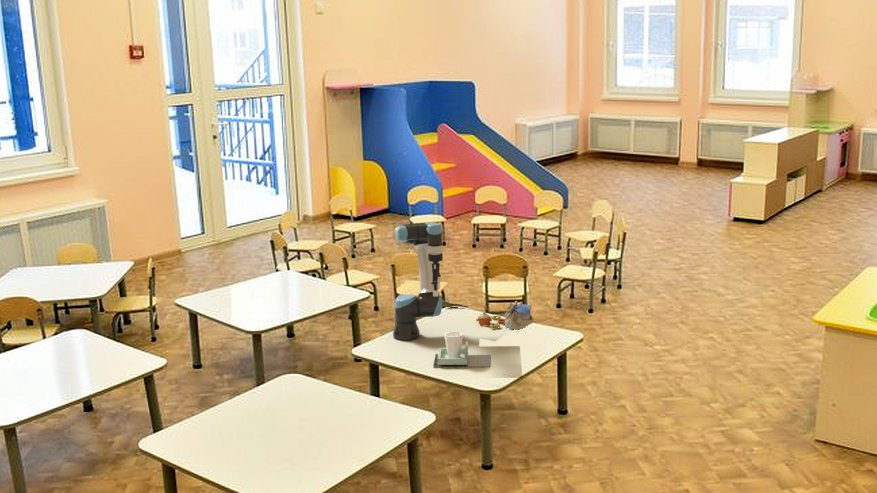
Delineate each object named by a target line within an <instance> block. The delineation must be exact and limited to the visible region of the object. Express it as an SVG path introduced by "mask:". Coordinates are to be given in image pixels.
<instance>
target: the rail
mask: <svg viewBox="0 0 877 493" xmlns="http://www.w3.org/2000/svg"><path fill="white" fill-rule="evenodd" d="M434 356H435V357H434V360H433V364H432V365H433V368H434V369H435V368H438V369H440V368H442V369H443V368H444V369H445V368H446V369H447V368H450V369H451V368H491V354H468V362H467V365H441V366H440V365H438V362H437V359H438V353H435V355H434Z"/></svg>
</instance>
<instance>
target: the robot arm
mask: <svg viewBox="0 0 877 493" xmlns="http://www.w3.org/2000/svg"><path fill="white" fill-rule="evenodd" d="M392 238H393V239H394V240H395V241H396V242H397V243H400V244H402V245H413V248H414V249H416V252H417V254H416V255H417V264H418V274H419V284H420V285H419V286H420V291H419V292H418V294H417V296H416V295H415V294H412V293H411V294H409V293H408V294H407V293H406V294H402V295H399V296H398V297H396V298H395V300H394V312H395V313H394V314H395V316H394V317H395V323H394V324H395V325H394V327H393V328H394V329H393V331H392V337H393V338H394V339H395V340H399V341H410V340H415V339H417V338H419V337H420V335H421V332H420V329H419V327H418V323H417V318H430V317H431V318H433V317H438V316H439V317H440V315H441V314H442V310H443V306H442V300H443V296H442V295H440V293H439V290H441V280H440V279H441V277H442V275H441V273H440V268H441V267H440V266H441V264H440V262H442V261H443V260H444V257H443V248H444V247H443V226H442V223H438V222H417V223H416V222H415V223H404V224H401V225H398V226H396V227H395V228H394V229H393V232H392Z"/></svg>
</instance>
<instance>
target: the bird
mask: <svg viewBox="0 0 877 493" xmlns="http://www.w3.org/2000/svg"><path fill="white" fill-rule="evenodd" d="M442 307H444V308H445V307H446V308H452V307H462V308H467V309H468V308H470V307H469V306H468V305H464V304H460V303H452V302H448V301H445V300H444V299H442Z"/></svg>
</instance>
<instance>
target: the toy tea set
mask: <svg viewBox="0 0 877 493" xmlns="http://www.w3.org/2000/svg"><path fill="white" fill-rule="evenodd" d="M507 310H508V311H509V310H510V309H507ZM508 311H506V312H505V313H504V314H506V313H507V312H508ZM507 315H508V314H506V315H504V316H505V318H501V315H491V316H490V315H489V314H487V313H486V312H485V311H483V313H480V315H478V316H477V318H476V319H475V320H476V322H478V325H479V324H480V325H479V326H481V325H488V326H489V328H490V327H491V328H490V329H491V330H494V329H493V328H498V327H500V328H498V329H497V330H500V329H501V328H502V327H501V325H500V324H505V319H506V317H507ZM496 317H498V318H496ZM499 317H500V319H499ZM492 319H493V320H492ZM492 321H497V322H496V323H494V322H493V323H491V322H492ZM498 323H499V324H498ZM489 324H490V325H489Z"/></svg>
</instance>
